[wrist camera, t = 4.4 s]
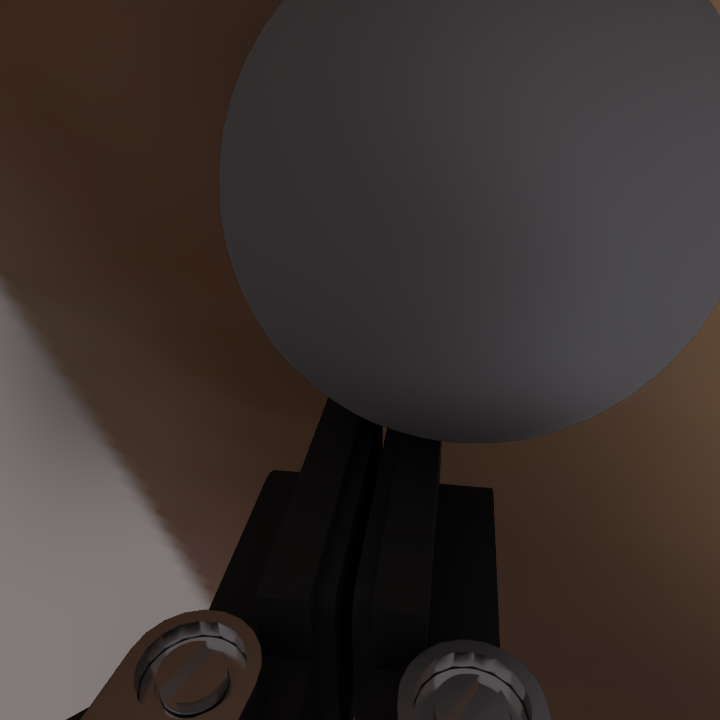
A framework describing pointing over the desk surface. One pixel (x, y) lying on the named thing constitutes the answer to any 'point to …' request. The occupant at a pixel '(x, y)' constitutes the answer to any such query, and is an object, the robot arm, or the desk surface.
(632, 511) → the desk surface
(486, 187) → the grey ball
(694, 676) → the desk surface
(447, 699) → the robot arm
